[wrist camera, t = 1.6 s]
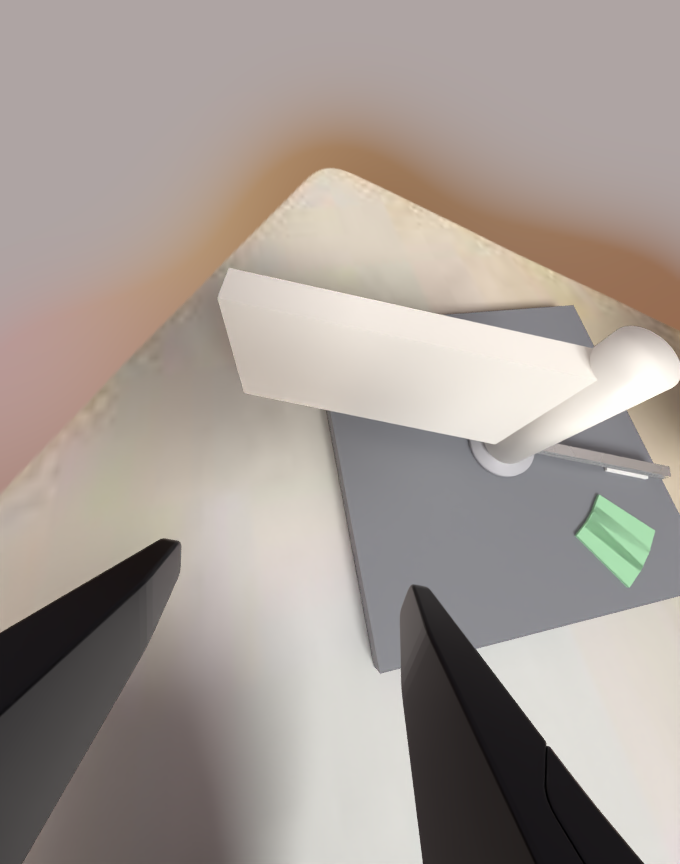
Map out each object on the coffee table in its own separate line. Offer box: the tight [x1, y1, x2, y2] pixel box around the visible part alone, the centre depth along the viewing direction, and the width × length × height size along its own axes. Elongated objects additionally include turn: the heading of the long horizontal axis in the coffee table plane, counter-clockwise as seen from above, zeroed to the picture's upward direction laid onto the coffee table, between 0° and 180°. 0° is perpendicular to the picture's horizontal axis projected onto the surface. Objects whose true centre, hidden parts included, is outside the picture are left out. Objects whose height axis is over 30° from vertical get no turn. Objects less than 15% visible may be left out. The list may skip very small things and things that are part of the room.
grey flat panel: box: [327, 305, 680, 673], centre depth 24 cm, size 22×22×2 cm
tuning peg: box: [217, 268, 680, 479], centre depth 18 cm, size 28×3×10 cm, turn 80°
